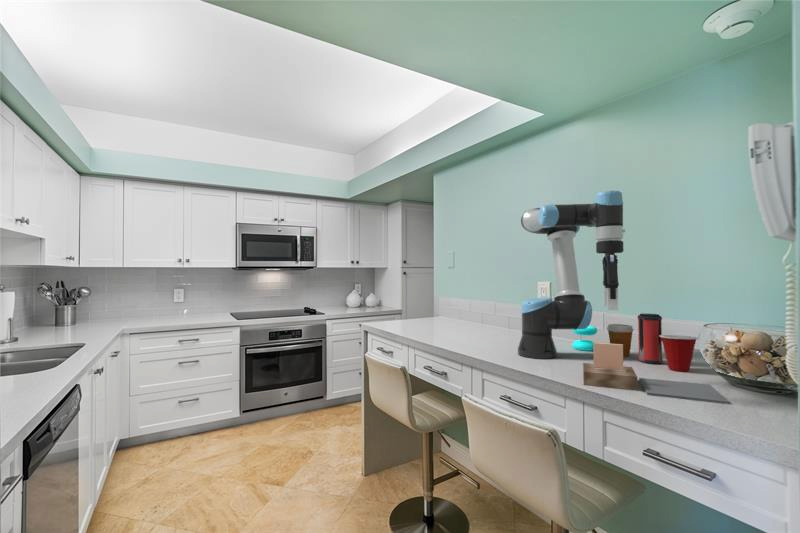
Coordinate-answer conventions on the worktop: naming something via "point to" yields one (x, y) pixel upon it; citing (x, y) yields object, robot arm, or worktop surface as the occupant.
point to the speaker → (650, 338)
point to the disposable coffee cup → (621, 336)
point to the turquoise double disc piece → (584, 344)
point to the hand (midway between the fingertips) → (610, 308)
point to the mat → (682, 390)
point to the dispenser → (610, 377)
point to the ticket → (608, 356)
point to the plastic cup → (678, 351)
